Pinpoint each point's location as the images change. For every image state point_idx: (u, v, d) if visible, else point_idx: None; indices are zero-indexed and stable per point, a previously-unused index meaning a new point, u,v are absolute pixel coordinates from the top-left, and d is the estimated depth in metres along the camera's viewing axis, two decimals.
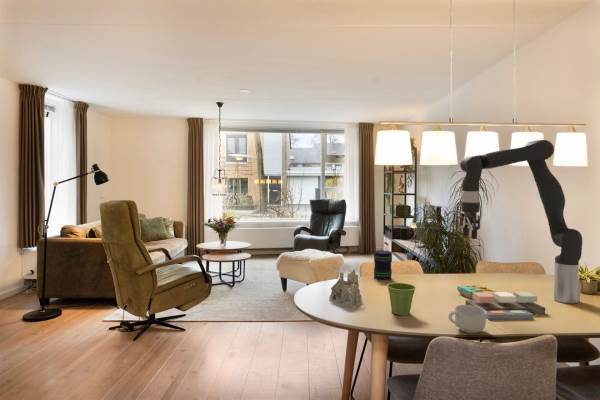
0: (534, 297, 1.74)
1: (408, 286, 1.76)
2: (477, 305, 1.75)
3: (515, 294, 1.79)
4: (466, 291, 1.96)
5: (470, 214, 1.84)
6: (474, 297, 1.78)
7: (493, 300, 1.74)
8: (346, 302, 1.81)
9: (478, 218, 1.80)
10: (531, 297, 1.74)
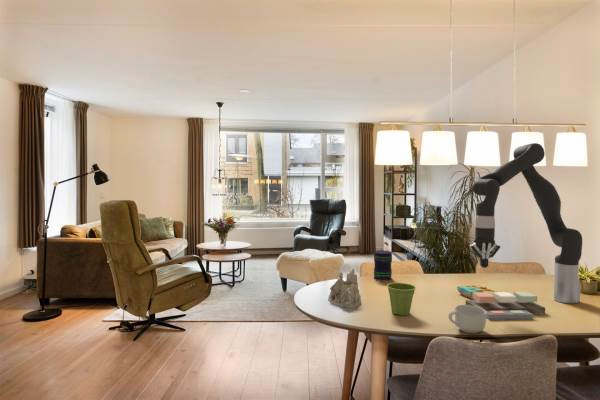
0: (534, 297, 1.74)
1: (408, 286, 1.76)
2: (477, 305, 1.75)
3: (515, 294, 1.79)
4: (466, 291, 1.95)
5: (492, 240, 1.75)
6: (474, 297, 1.78)
7: (493, 300, 1.74)
8: (345, 302, 1.81)
9: None
10: (531, 297, 1.74)
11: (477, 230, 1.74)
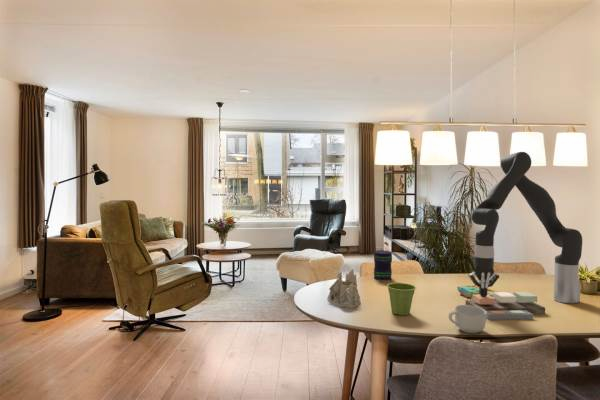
0: (534, 297, 1.74)
1: (408, 286, 1.76)
2: (477, 305, 1.75)
3: (515, 294, 1.79)
4: (466, 291, 1.95)
5: (491, 269, 1.75)
6: (474, 299, 1.78)
7: (493, 302, 1.74)
8: (344, 302, 1.81)
9: None
10: (531, 297, 1.74)
11: (476, 259, 1.75)
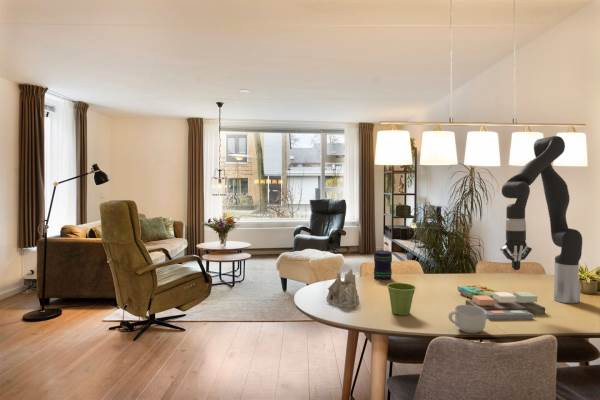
0: (534, 297, 1.74)
1: (408, 286, 1.76)
2: (477, 305, 1.75)
3: (515, 294, 1.79)
4: (467, 291, 1.95)
5: (523, 242, 1.75)
6: (474, 300, 1.78)
7: (493, 303, 1.74)
8: (343, 302, 1.81)
9: None
10: (531, 297, 1.74)
11: (508, 233, 1.75)
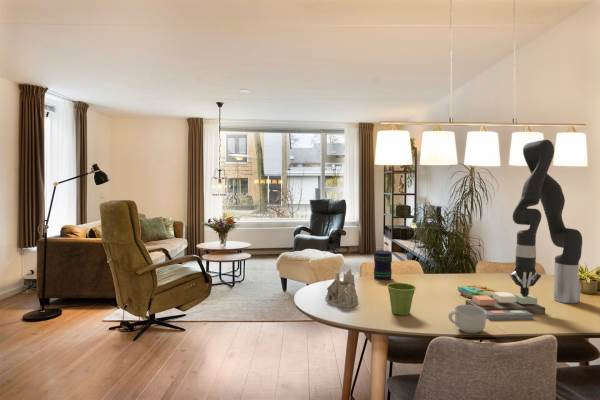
0: (534, 299, 1.74)
1: (408, 286, 1.76)
2: (477, 305, 1.75)
3: None
4: (467, 291, 1.95)
5: (532, 269, 1.76)
6: (474, 300, 1.78)
7: (493, 303, 1.74)
8: (342, 302, 1.81)
9: None
10: (531, 299, 1.74)
11: (518, 259, 1.76)
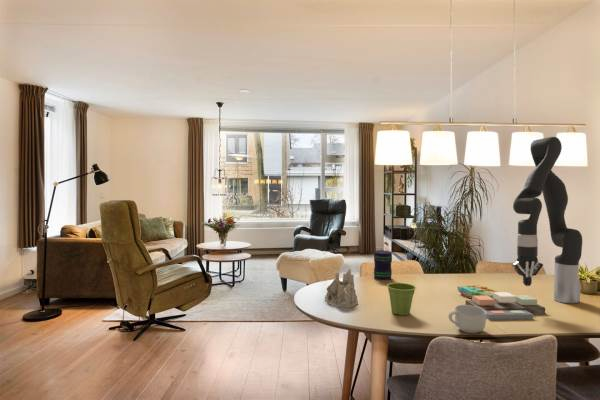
0: (534, 300, 1.74)
1: (408, 286, 1.76)
2: (477, 305, 1.75)
3: None
4: (467, 291, 1.95)
5: (534, 258, 1.75)
6: (474, 300, 1.78)
7: (493, 303, 1.74)
8: (342, 302, 1.81)
9: None
10: (531, 300, 1.74)
11: (520, 249, 1.75)
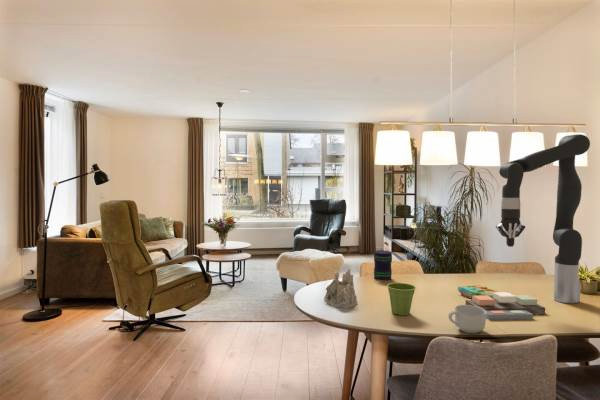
0: (534, 300, 1.74)
1: (408, 286, 1.76)
2: (477, 305, 1.75)
3: None
4: (468, 291, 1.95)
5: (517, 220, 1.85)
6: (474, 300, 1.78)
7: (493, 303, 1.74)
8: (341, 302, 1.81)
9: None
10: (531, 300, 1.74)
11: (504, 211, 1.85)
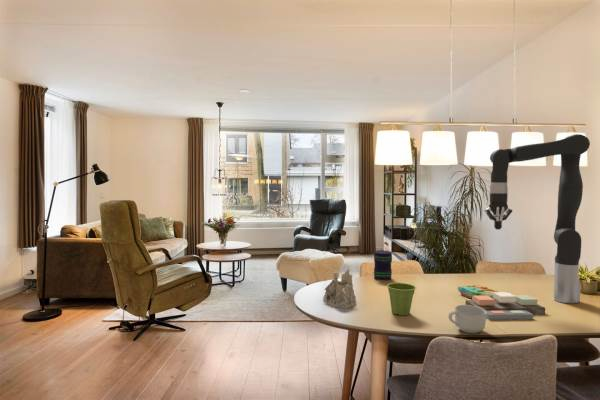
0: (534, 300, 1.74)
1: (408, 286, 1.76)
2: (477, 305, 1.75)
3: None
4: (468, 291, 1.95)
5: (505, 204, 1.95)
6: (474, 300, 1.78)
7: (493, 303, 1.74)
8: (341, 302, 1.81)
9: None
10: (531, 300, 1.74)
11: (492, 195, 1.94)
